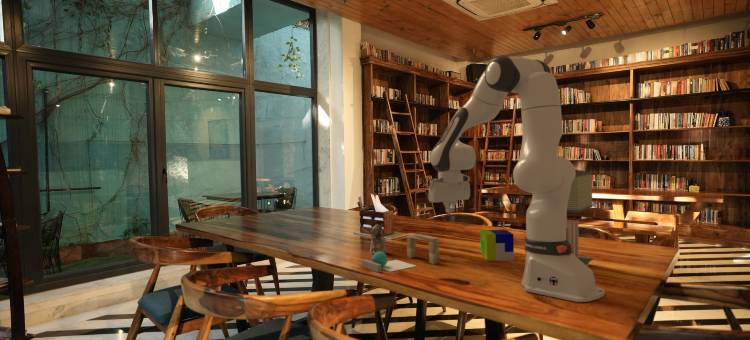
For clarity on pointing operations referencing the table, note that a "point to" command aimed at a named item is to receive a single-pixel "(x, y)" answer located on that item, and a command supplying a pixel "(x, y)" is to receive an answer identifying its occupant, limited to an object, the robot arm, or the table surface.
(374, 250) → the figurine
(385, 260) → the ball
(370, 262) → the stopper strip
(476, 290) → the table surface
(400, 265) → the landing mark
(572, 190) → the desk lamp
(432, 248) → the bridge
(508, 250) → the puzzle toy
